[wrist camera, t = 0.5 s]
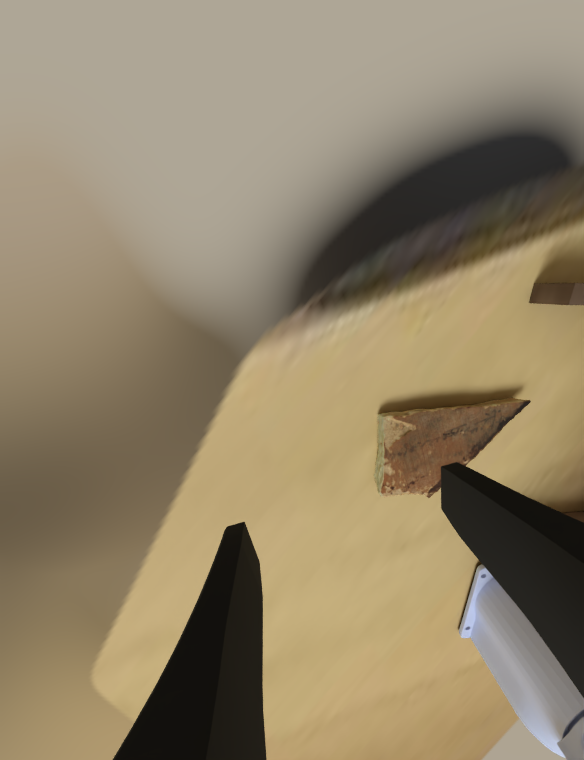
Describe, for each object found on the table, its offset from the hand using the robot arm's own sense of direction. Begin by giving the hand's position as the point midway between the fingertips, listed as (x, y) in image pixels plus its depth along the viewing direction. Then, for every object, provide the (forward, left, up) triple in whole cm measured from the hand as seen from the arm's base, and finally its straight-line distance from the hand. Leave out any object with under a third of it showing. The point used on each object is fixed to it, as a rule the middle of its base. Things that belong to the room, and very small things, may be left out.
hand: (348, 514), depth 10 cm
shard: (-2, -9, -10) cm, 14 cm away
